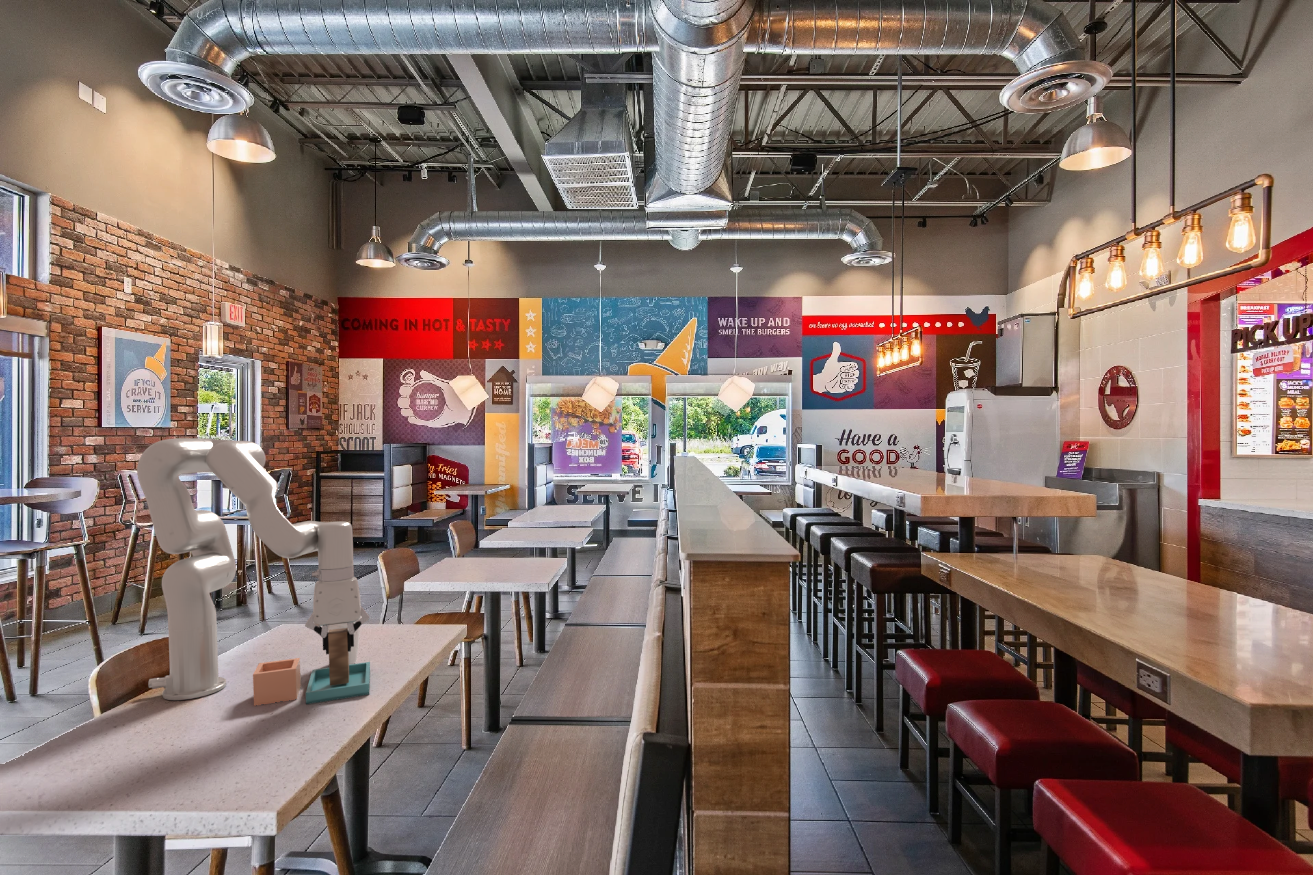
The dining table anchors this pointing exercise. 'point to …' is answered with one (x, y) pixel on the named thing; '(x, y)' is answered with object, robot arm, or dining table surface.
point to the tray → (324, 691)
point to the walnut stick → (338, 656)
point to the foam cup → (354, 650)
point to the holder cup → (276, 681)
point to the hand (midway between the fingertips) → (338, 650)
